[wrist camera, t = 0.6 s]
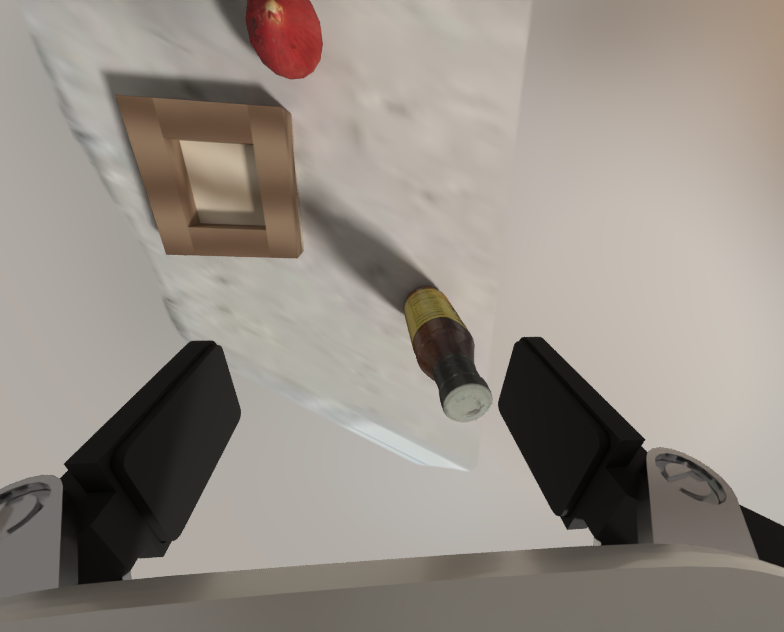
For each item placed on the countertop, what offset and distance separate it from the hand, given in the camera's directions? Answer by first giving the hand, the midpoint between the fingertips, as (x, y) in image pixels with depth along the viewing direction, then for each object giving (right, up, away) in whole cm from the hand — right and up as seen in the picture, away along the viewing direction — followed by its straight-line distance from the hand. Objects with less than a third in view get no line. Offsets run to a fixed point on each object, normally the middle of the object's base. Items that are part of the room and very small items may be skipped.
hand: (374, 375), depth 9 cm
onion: (-8, +27, +17) cm, 33 cm away
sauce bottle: (+5, +4, +31) cm, 31 cm away
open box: (-17, +16, +22) cm, 32 cm away
